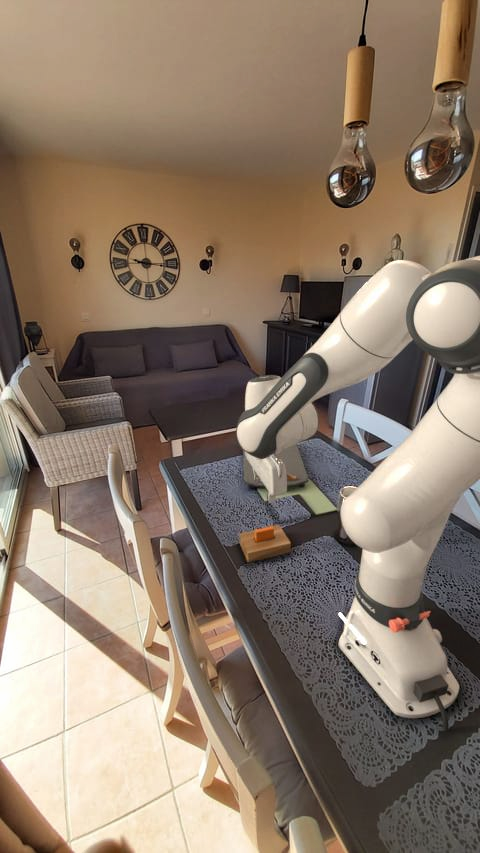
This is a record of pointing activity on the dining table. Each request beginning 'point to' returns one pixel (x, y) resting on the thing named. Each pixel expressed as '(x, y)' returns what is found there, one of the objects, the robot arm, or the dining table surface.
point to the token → (264, 534)
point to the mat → (306, 497)
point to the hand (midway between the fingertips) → (264, 490)
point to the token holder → (264, 545)
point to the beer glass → (341, 532)
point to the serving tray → (292, 464)
